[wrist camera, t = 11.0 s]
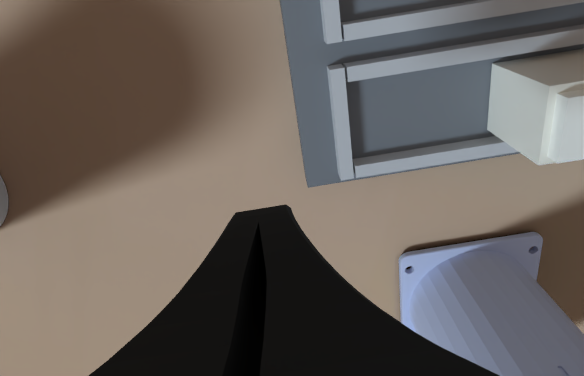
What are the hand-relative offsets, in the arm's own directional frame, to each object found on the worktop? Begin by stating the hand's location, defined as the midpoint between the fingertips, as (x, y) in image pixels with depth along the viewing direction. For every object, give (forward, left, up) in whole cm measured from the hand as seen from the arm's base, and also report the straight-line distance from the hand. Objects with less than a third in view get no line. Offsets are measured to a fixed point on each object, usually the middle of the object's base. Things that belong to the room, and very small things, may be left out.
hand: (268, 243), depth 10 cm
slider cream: (0, -12, -9) cm, 15 cm away
